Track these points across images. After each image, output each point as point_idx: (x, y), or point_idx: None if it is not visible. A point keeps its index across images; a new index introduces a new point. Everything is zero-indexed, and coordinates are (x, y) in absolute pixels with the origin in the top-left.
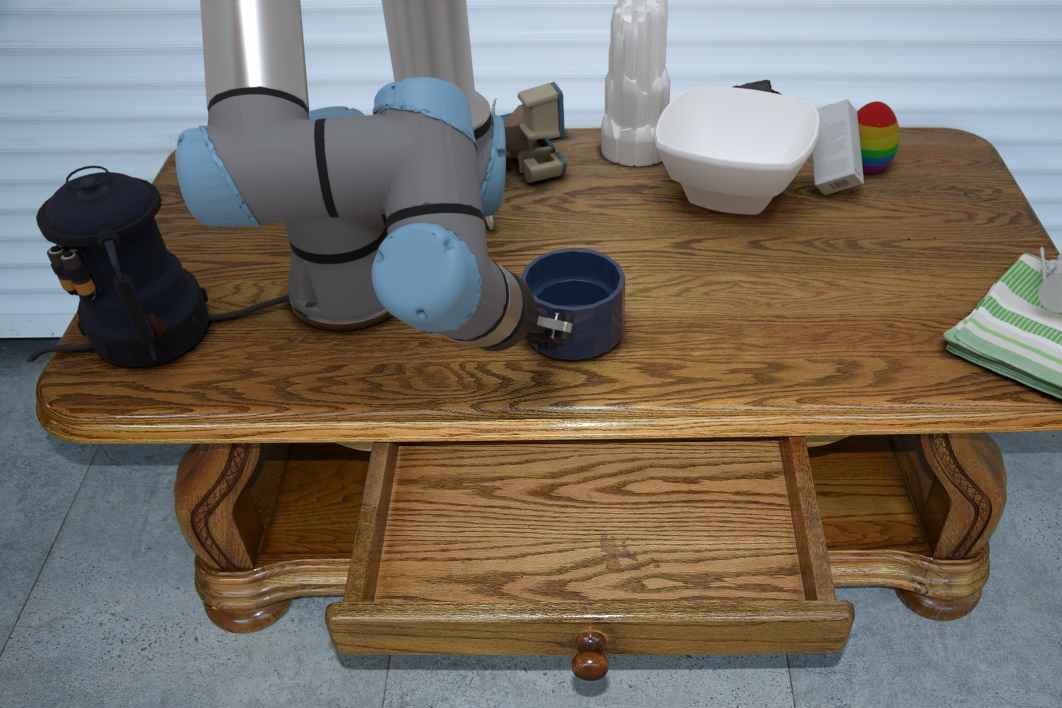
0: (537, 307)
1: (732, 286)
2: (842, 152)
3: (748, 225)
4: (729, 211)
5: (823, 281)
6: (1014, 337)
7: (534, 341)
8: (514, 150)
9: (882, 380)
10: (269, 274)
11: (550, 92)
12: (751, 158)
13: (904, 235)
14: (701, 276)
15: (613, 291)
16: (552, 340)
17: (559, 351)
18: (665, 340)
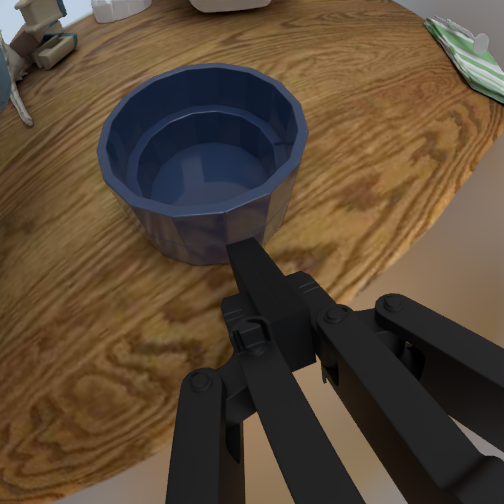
0: (501, 462)
1: (314, 61)
2: None
3: (264, 15)
4: (245, 7)
5: (365, 43)
6: (479, 72)
7: (299, 367)
8: (27, 53)
9: (477, 124)
10: None
11: None
12: None
13: (361, 8)
14: (278, 60)
15: (243, 111)
16: (474, 431)
17: None
18: (326, 146)
